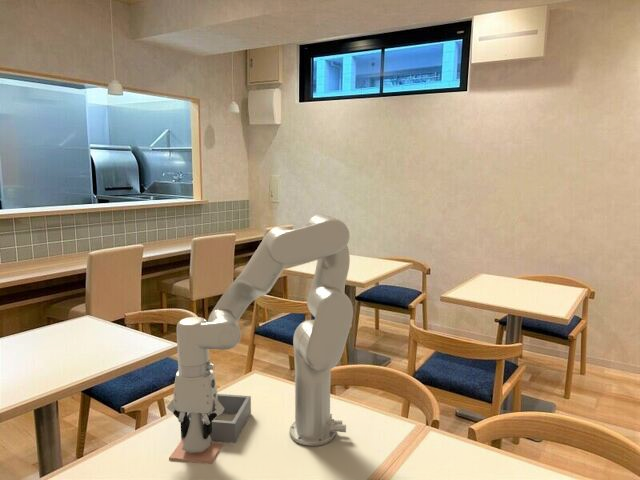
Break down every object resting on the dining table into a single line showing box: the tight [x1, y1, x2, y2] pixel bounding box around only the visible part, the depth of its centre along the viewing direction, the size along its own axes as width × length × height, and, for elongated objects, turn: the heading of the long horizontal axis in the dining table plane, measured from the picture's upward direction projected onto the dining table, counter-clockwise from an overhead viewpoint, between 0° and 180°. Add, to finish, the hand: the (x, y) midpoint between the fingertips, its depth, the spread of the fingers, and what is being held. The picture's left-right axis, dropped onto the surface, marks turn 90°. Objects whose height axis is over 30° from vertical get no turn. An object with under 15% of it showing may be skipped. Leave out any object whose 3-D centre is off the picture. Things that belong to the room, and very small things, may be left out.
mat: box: [168, 438, 224, 465], centre depth 119 cm, size 11×8×1 cm
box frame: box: [180, 393, 252, 444], centre depth 131 cm, size 15×15×6 cm
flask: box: [182, 413, 212, 453], centre depth 118 cm, size 7×7×10 cm
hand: (196, 434), depth 118 cm, fingers closed on flask, 4 cm apart
